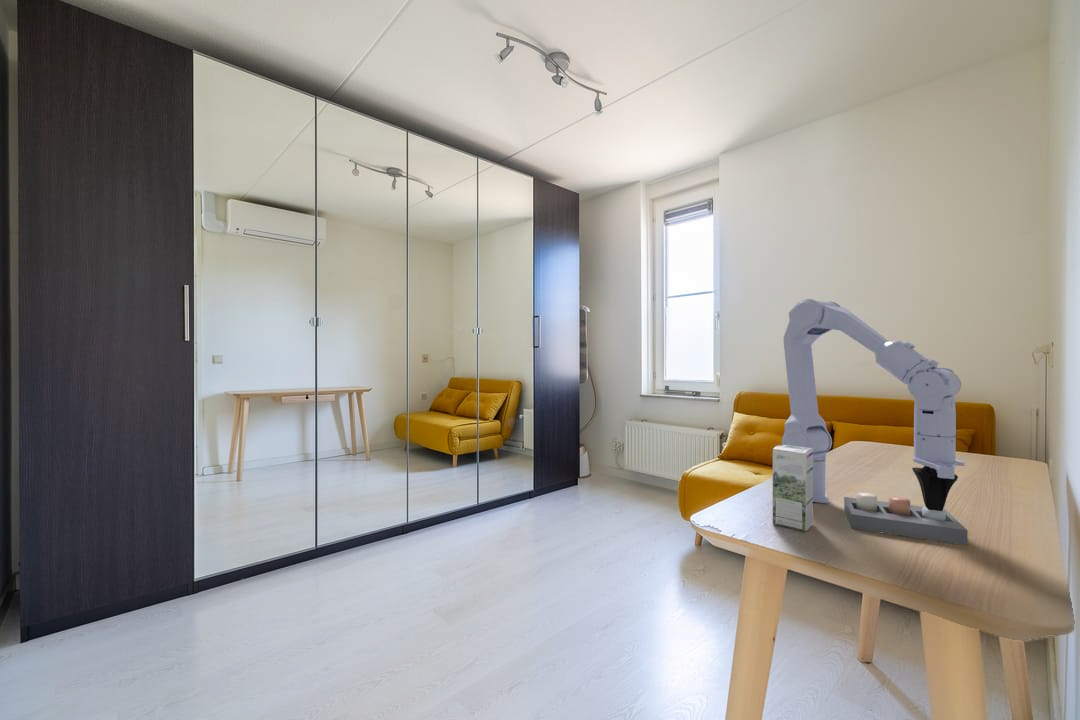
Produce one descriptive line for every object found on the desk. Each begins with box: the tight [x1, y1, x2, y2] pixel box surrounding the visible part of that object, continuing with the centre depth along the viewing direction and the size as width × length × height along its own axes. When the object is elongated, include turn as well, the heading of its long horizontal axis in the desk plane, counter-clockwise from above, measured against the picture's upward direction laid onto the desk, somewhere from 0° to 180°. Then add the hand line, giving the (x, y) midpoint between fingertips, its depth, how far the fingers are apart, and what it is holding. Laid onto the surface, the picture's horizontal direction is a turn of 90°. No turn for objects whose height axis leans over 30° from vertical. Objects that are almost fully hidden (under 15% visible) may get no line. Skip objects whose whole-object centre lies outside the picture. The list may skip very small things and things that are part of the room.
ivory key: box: [855, 492, 878, 512], centre depth 87 cm, size 3×3×3 cm
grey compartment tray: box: [843, 496, 969, 547], centre depth 85 cm, size 16×12×3 cm
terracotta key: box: [887, 495, 911, 516], centre depth 85 cm, size 3×3×3 cm
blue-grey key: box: [922, 506, 947, 521], centre depth 82 cm, size 3×3×3 cm
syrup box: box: [772, 444, 814, 532], centre depth 85 cm, size 6×6×14 cm
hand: (934, 509), depth 82 cm, fingers closed, pressing on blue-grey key
